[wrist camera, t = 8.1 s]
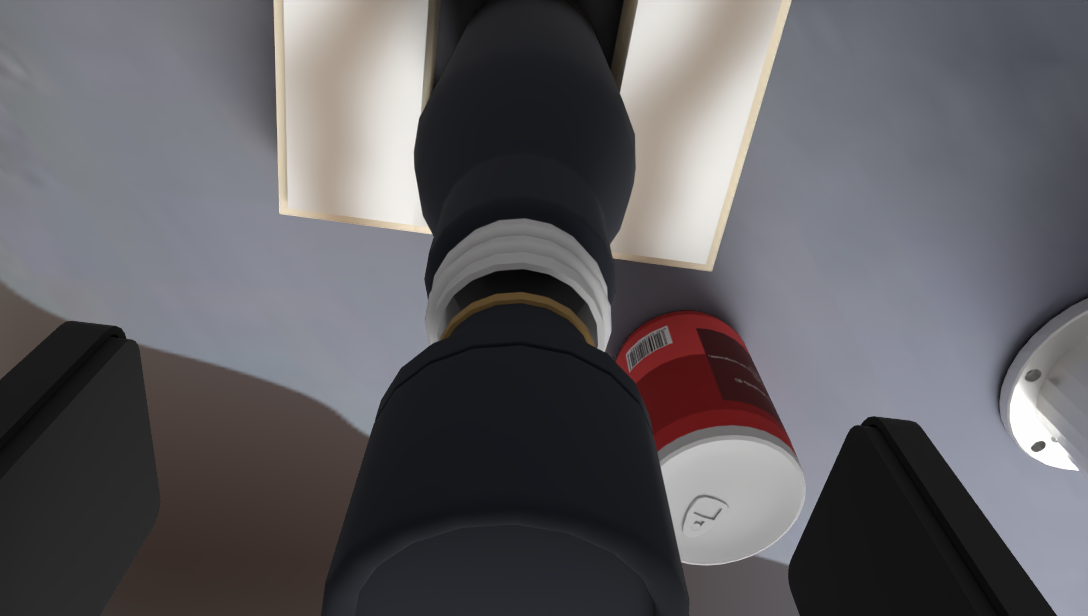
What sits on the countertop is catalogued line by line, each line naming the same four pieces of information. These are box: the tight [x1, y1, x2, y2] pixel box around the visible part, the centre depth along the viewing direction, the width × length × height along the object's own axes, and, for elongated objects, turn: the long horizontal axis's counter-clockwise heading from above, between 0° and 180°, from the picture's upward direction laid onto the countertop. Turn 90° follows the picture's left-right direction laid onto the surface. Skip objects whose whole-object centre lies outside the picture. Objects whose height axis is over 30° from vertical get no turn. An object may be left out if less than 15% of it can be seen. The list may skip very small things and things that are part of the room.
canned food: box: [616, 311, 806, 565], centre depth 37 cm, size 8×8×11 cm
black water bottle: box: [321, 0, 689, 616], centre depth 21 cm, size 6×6×30 cm
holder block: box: [274, 0, 792, 272], centre depth 32 cm, size 20×15×4 cm
